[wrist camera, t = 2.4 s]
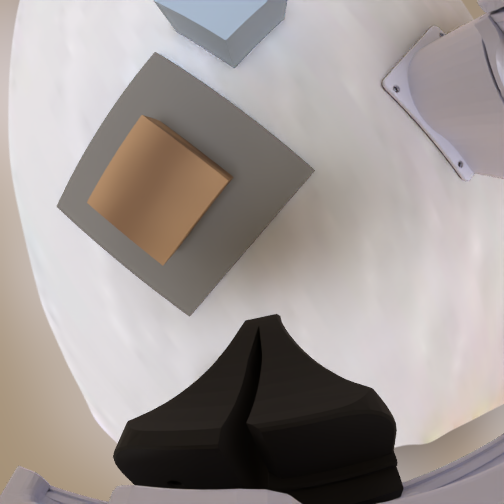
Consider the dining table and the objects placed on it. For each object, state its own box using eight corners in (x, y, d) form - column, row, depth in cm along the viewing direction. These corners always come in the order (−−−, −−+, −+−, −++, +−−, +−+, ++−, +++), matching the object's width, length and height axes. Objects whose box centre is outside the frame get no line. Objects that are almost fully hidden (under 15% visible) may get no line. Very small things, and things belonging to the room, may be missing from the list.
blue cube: (284, 19, 15) (290, -18, 10) (234, 68, 16) (225, 40, 12) (225, -15, 14) (216, -54, 10) (176, 32, 16) (153, 0, 11)
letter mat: (313, 170, 18) (314, 170, 18) (190, 313, 21) (189, 316, 21) (157, 53, 16) (155, 51, 16) (59, 205, 19) (56, 206, 19)
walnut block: (233, 177, 18) (228, 180, 15) (176, 250, 19) (163, 265, 17) (159, 120, 17) (141, 114, 14) (109, 195, 18) (86, 202, 16)
